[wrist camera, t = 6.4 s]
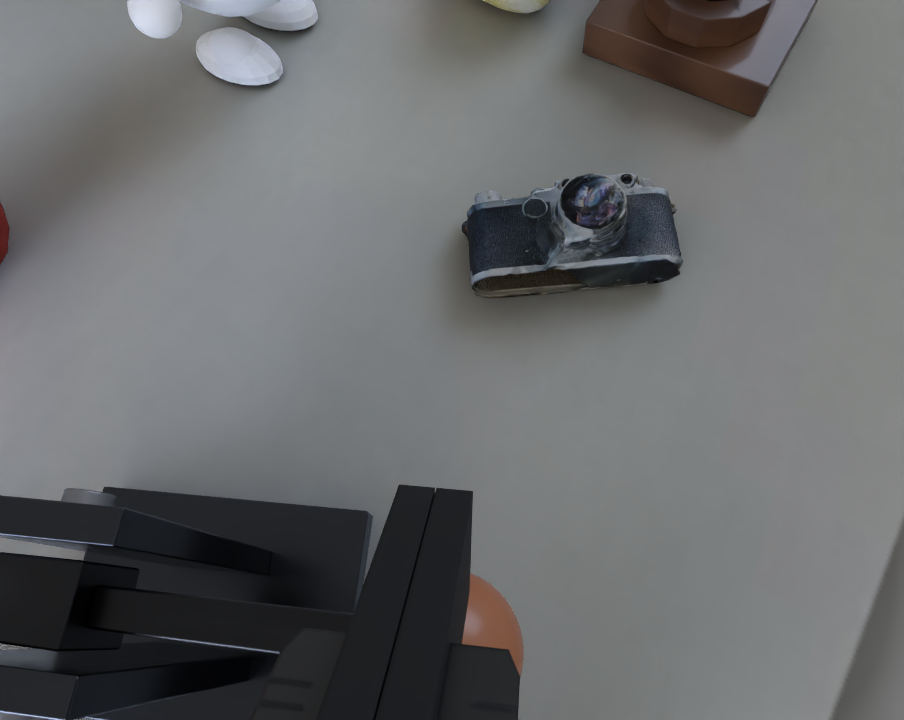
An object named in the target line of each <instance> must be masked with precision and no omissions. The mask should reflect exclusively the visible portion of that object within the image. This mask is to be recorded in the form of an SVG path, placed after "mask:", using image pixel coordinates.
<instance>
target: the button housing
mask: <svg viewBox="0 0 904 720" xmlns="http://www.w3.org/2000/svg"><path fill="white" fill-rule="evenodd" d="M817 1H818V0H724V1H707V0H600V2H599V3H598V5H597V6H596V8H595V9H594V11H593V12H592V14H591V15H590V17H589V18H588V20H587V21H586V28H585V37H584V45H583V53H584V54H587V55H590V56H592V57H595V58H598V59H600V60H603V61H606V62H608V63H611V64H614V65H616V66H619V67H622V68H624V69H627V70H630V71H632V72H635V73H638V74H640V75H643V76H646V77H648V78H651V79H654V80H656V81H659V82H662V83H664V84H667V85H670V86H672V87H675V88H678V89H680V90H683V91H686V92H688V93H691V94H694V95H696V96H699V97H702V98H704V99H707V100H710V101H712V102H715V103H718V104H720V105H723V106H726V107H728V108H731V109H734V110H736V111H739V112H742V113H744V114H747V115H750V116H752V117H755V116H756V114H757V113H758V111H759V109H760V107H761V105H762V103H763V101H764V100H765V98H766V96H767V94H768V92H769V90H770V89H771V87H772V85H773V83H774V81H775V79H776V78H777V76H778V74H779V72H780V70H781V68H782V67H783V65H784V63H785V61H786V59H787V57H788V56H789V54H790V52H791V50H792V48H793V46H794V45H795V43H796V41H797V39H798V37H799V35H800V34H801V32H802V30H803V28H804V26H805V24H806V23H807V21H808V19H809V17H810V15H811V13H812V11H813V9H814V7H815V5H816V3H817Z"/></svg>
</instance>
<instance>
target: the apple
mask: <svg viewBox="0 0 904 720" xmlns="http://www.w3.org/2000/svg"><path fill="white" fill-rule="evenodd" d="M8 239H9V225H8V222H7V219H6V216H5V212H4V209H3V207H2V205H1V203H0V264H1V262H2V261H3V259H4V257H5V255H6V254H7V252H8Z"/></svg>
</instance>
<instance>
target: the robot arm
mask: <svg viewBox="0 0 904 720" xmlns="http://www.w3.org/2000/svg"><path fill="white" fill-rule="evenodd" d="M472 501H473V491H465V490H454V489H443V488H436V492H435V488H431V487H420V486H409V485H399V486H398V489H397V492H396V495H395V497H394V500H393V503H392V506H391V509H390V512H389V514H388V517H387V520H386V523H385V526H384V528H383V531H382V534H381V537H380V540H379V543H378V545H377V548H376V551H375V554H374V557H373V560H372V562H371V565H370V568H369V571H368V574H367V576H366V579H365V582H364V585H363V588H362V591H361V593H360V596H359V599H358V602H357V605H356V608H355V610H354V613H353V616H352V619H351V622H350V624H349V627H348V630H347V633H346V632H338V631H329V630H320V629H312V628H302V629H301V630H300V631H299V632H298V633H297V634H296V635H295V636H294V637H293V638H292V639H291V640H290V641H289V642H288V643H287V644H286V645H285V646H284V647H283V648H282V649H281V651H280V653H279V655H278V658H277V660H276V662H275V664H274V666H273V669H272V671H271V673H270V675H269V680H268V682H266V684H265V686H264V688H263V691H262V693H261V695H260V697H259V701H258V705H256V706H255V708H254V710H253V713H252V715H251V717H250V719H249V720H518V705H519V685H520V675H519V673H518V670H517V668H516V666H515V663H514V661H513V658H512V656H511V653H510V651H509V649H501V648H492V647H483V646H475V645H466V644H462V639H463V633H464V626H465V620H466V613H467V607H468V600H469V593H470V564H471V532H472Z"/></svg>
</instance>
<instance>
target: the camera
mask: <svg viewBox="0 0 904 720" xmlns="http://www.w3.org/2000/svg"><path fill="white" fill-rule="evenodd" d="M675 212H676V209H675V205H674V204H671V202H670V200H669V195H668V191H667V190H665V189H663V188H659V187H653V184H652V181H651V180H650V179H648V178H643V179H640V180H638V176H637V175H634V174H630V173H623V174H618V175H607V176H603V175H600V174H585V175H581V176H578V177H575V178H570V179H569V178H567V179H562V180H559V181H557V182H555V187H551V188H548V189H545V188H537V189H534V190H533V191H532V192H531V195H530V196H529V197H526V198H517V197H514V198H512V199H504V200H501V196H500V194H499V193H497V192H495V191H492V190H489V191H484V192H481V193H478V194H476V196H475V205H472V207H471V208H470V209H469V211H468V212H467V216H468V220H467V221H465V222H464V223H463V224H462V231H463V233H464V234H465V235H466V236H467V239H468V241H469V258H470V271H471V277H470V281H471V285H472V289H473V290H475V291H476V293H475V294H476V295H477V296H480V297H484V298H503V297H515V296H526V295H537V294H551V293H561V292H568V291H574V290H579V289H595V288H602V287H622V286H634V285H643V284H652V283H659V282H663V281H667V280H669V279H671V278H673V277H675V276H677V275H679V274H680V268H681V265H682V263H683V260H682V259H681V257H680V256H681V252H680V249H679V244H678V237H677V232H676V228H675V225H674V218H673V214H674V213H675Z"/></svg>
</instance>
